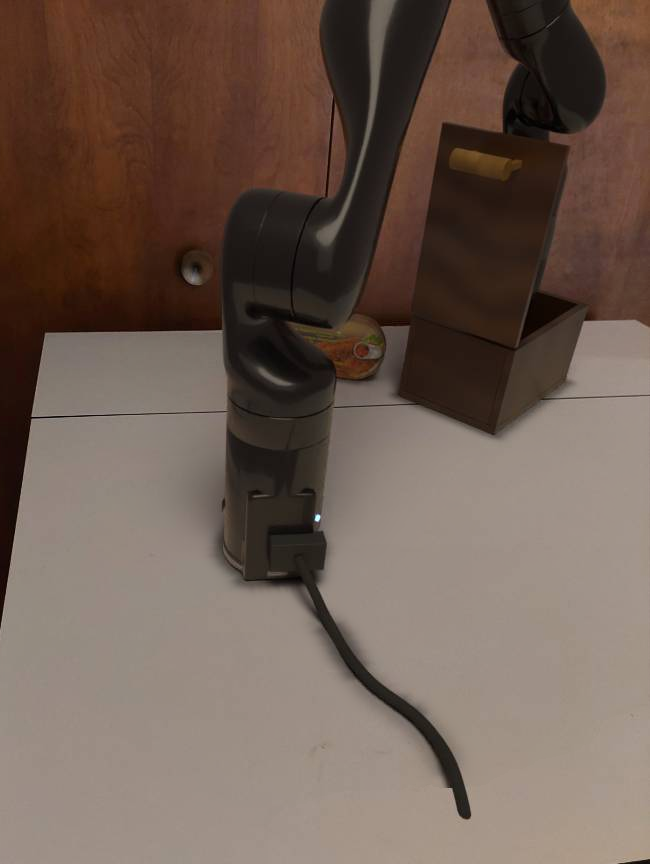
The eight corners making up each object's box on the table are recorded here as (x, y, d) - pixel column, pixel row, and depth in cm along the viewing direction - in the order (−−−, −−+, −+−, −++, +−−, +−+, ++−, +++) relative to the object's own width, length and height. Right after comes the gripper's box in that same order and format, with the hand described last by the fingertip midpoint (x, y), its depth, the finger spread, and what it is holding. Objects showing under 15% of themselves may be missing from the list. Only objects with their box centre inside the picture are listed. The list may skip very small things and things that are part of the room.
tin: (271, 367, 110) (274, 308, 105) (277, 357, 112) (280, 299, 107) (379, 385, 107) (388, 325, 102) (383, 374, 109) (392, 315, 104)
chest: (474, 349, 117) (491, 274, 110) (565, 381, 110) (589, 304, 103) (397, 395, 105) (411, 315, 98) (493, 435, 98) (515, 351, 91)
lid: (446, 121, 85) (419, 128, 82) (570, 145, 78) (546, 154, 75) (413, 310, 98) (389, 322, 95) (518, 346, 91) (495, 360, 88)
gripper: (517, 271, 89) (483, 406, 100) (572, 242, 98) (535, 370, 109) (458, 254, 93) (432, 386, 104) (516, 227, 102) (486, 352, 112)
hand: (485, 377), depth 106 cm, fingers closed on block, 4 cm apart
